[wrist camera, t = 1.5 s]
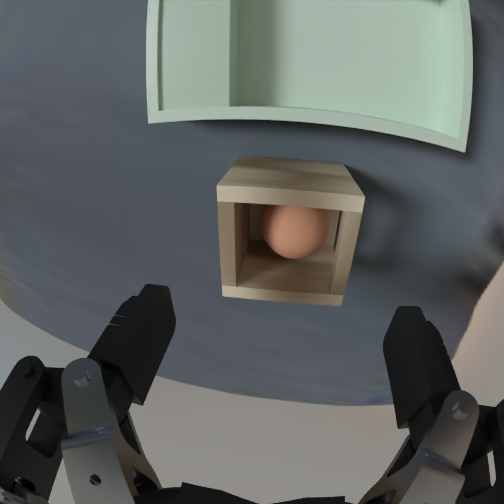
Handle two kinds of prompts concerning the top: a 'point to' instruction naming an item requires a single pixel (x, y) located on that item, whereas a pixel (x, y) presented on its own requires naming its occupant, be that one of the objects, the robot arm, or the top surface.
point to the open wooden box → (258, 251)
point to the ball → (294, 230)
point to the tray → (315, 64)
